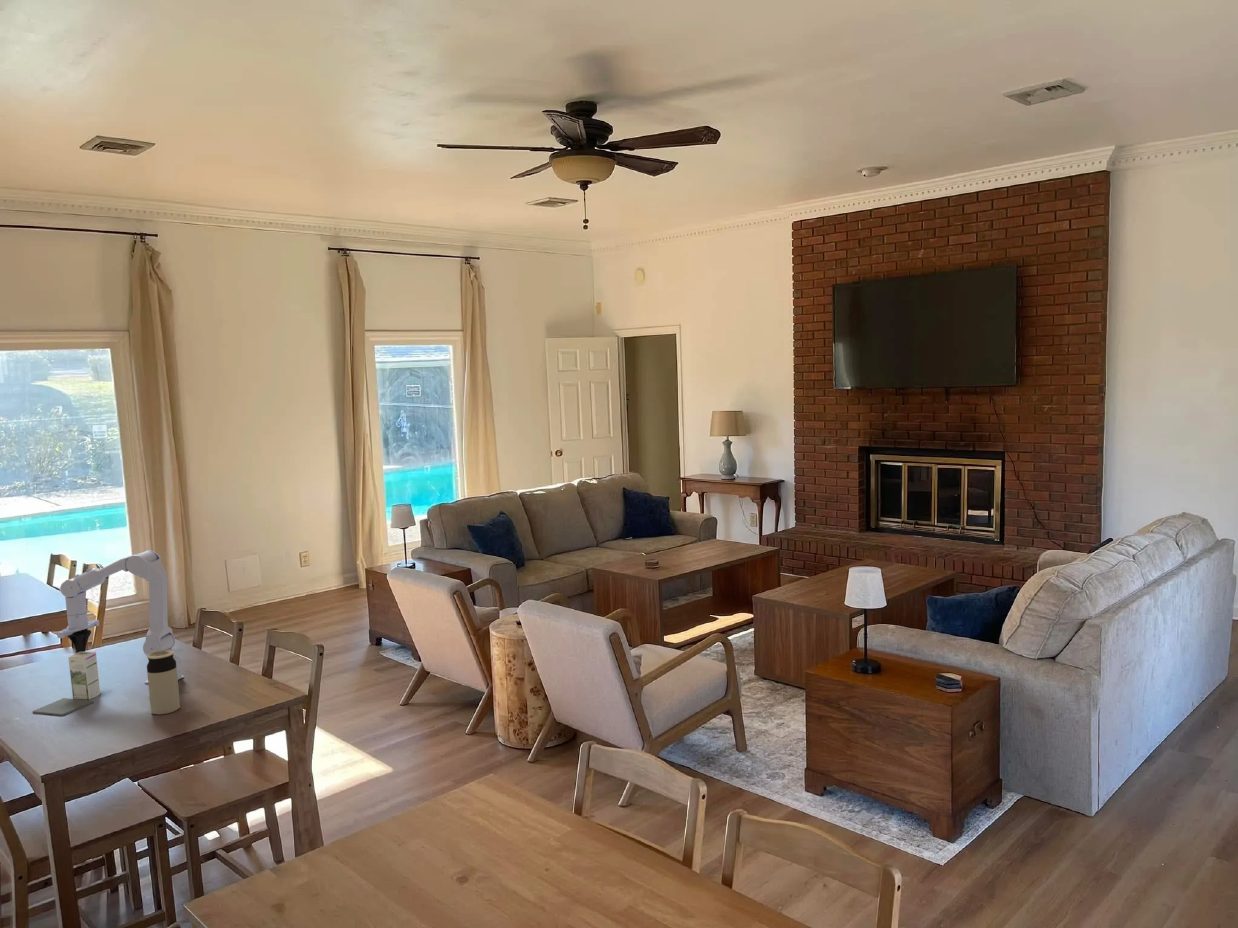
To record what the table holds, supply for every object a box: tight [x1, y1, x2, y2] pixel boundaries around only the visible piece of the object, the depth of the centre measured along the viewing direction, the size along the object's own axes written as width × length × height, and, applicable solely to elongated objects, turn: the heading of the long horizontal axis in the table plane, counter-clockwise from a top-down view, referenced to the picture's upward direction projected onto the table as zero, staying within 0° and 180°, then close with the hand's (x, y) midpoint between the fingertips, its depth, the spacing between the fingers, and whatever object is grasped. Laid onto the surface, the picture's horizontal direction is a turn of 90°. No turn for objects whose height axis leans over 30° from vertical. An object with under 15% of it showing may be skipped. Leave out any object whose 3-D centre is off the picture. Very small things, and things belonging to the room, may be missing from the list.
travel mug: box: [146, 649, 181, 716], centre depth 270 cm, size 8×8×18 cm
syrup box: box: [68, 651, 101, 701], centre depth 284 cm, size 6×6×14 cm
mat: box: [32, 697, 95, 717], centre depth 276 cm, size 12×11×1 cm
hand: (81, 652), depth 298 cm, fingers closed
